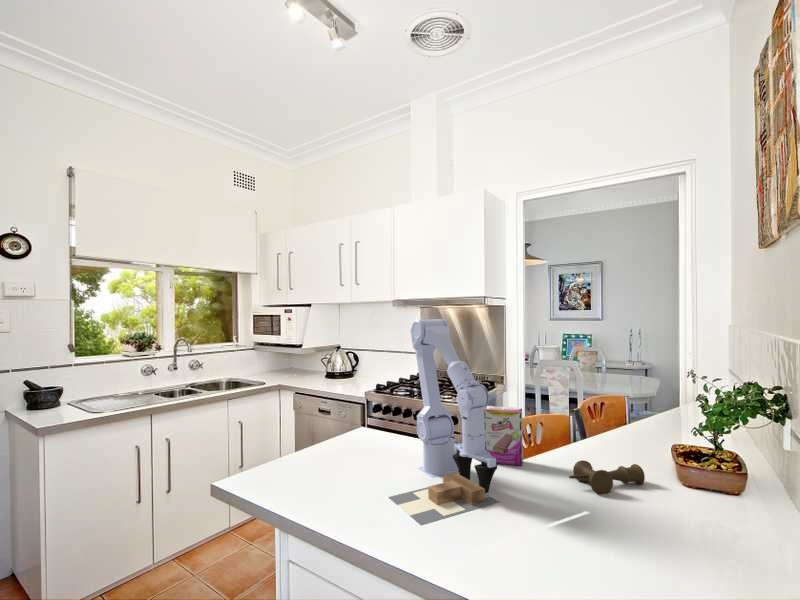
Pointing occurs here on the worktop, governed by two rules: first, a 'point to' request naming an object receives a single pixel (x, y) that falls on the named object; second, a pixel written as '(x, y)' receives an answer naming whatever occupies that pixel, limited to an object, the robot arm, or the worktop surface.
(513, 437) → the candy bar box
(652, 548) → the worktop surface
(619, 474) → the kendama
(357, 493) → the worktop surface
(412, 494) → the mat
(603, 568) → the worktop surface
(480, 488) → the t block
